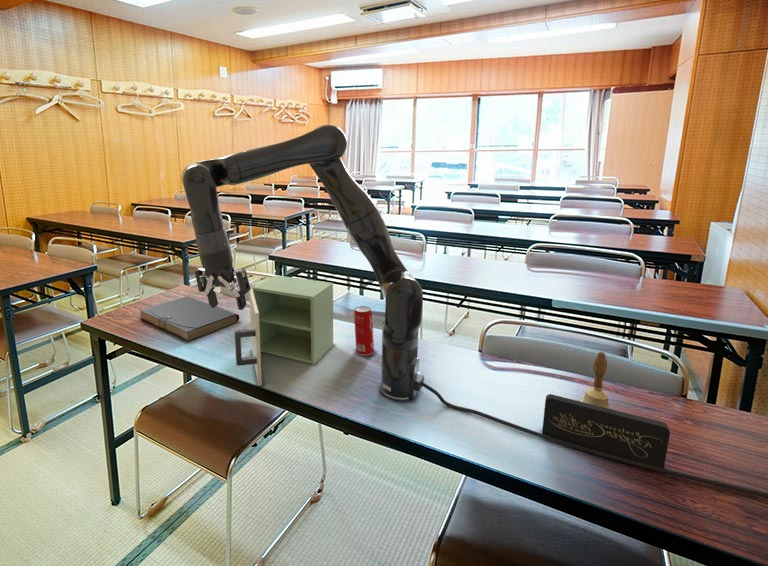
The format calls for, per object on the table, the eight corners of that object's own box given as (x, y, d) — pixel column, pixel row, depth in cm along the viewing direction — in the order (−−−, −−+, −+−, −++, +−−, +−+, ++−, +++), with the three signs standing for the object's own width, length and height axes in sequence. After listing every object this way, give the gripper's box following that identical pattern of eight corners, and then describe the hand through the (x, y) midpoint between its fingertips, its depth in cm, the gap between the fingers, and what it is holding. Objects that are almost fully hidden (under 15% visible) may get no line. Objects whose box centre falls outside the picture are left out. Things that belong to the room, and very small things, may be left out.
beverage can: (374, 357, 136) (374, 312, 133) (353, 355, 137) (353, 311, 134) (374, 348, 141) (374, 305, 138) (354, 347, 143) (354, 304, 140)
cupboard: (314, 364, 132) (313, 296, 128) (254, 350, 142) (251, 287, 138) (333, 345, 145) (333, 282, 140) (277, 333, 155) (275, 275, 151)
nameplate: (661, 467, 87) (669, 423, 85) (663, 473, 85) (670, 428, 83) (542, 432, 98) (546, 392, 96) (541, 436, 97) (545, 396, 95)
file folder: (139, 309, 171) (190, 294, 189) (140, 319, 172) (190, 303, 189) (186, 331, 149) (239, 312, 167) (187, 342, 150) (239, 322, 167)
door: (237, 388, 120) (233, 315, 115) (234, 352, 141) (230, 289, 136) (261, 385, 121) (258, 313, 116) (254, 350, 142) (252, 288, 138)
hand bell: (617, 427, 99) (626, 364, 96) (574, 416, 103) (581, 355, 100) (613, 408, 106) (622, 349, 103) (573, 399, 110) (580, 342, 107)
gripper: (246, 241, 101) (259, 302, 106) (200, 241, 108) (214, 298, 113) (229, 253, 95) (243, 317, 100) (180, 252, 102) (196, 312, 107)
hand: (228, 307), depth 107 cm, fingers open, 8 cm apart
